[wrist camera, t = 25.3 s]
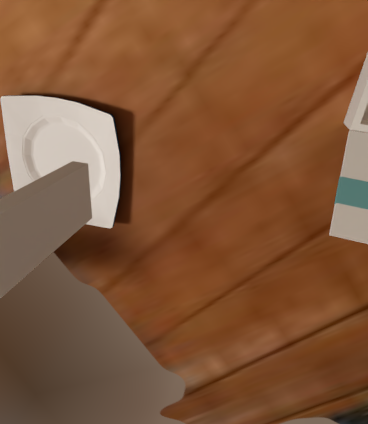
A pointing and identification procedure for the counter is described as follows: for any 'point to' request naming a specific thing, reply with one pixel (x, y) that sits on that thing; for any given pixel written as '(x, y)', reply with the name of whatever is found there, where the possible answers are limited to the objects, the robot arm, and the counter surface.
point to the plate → (64, 146)
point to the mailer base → (359, 103)
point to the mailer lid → (352, 191)
